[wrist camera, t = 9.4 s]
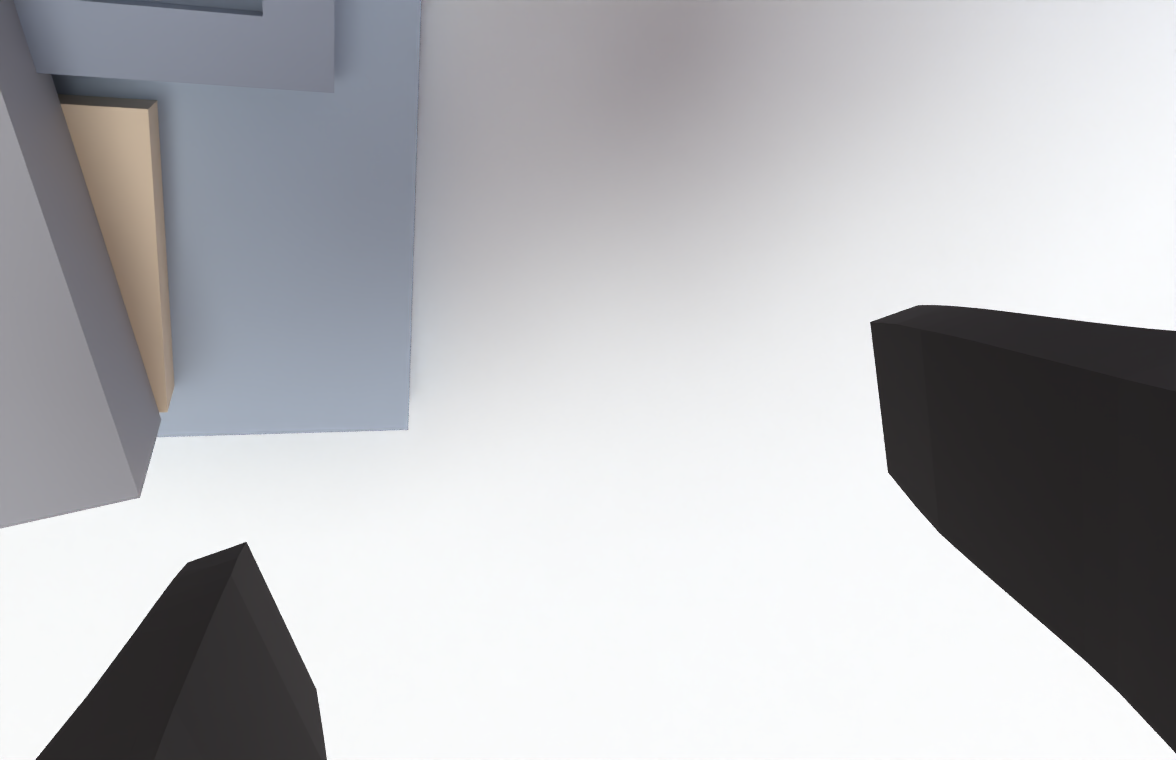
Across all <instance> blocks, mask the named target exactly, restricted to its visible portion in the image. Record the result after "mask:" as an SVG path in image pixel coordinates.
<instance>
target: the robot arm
mask: <svg viewBox="0 0 1176 760" xmlns="http://www.w3.org/2000/svg"><path fill="white" fill-rule="evenodd" d="M870 324H871V332H872V340H873V349H874V357H875V366H876V374H877V383H878V391H879V399H880V408H881V416H882V425H883V433H884V442H885V450H886V459H887V467H888V473H889V474H890V475H891V476H892V478H893V479H894V480H895V481H896V483H897V484H898V485H899V486H900V488H901V489H902V490H903V491H904V492H905V494H906V495H907V496H908V497H909V499H910V500H911V501H912V502H913V503H914V505H915V506H916V507H917V508H918V509H919V510H920V512H921V513H922V514H923V515H924V516H925V517H926V518H927V519H928V521H929V522H930V523H931V524H932V525H933V526H934V527H935V528H936V530H937V531H938V532H939V533H940V534H941V535H942V536H943V537H944V538H946V539H947V540H948V541H949V542H950V543H951V544H952V545H953V546H954V547H955V548H957V549H958V550H959V551H960V552H961V553H962V554H963V555H964V556H966V557H967V558H968V559H969V560H970V561H971V562H972V563H973V564H975V565H976V566H977V567H978V568H979V569H980V570H981V571H983V572H984V573H985V574H986V575H987V576H988V577H989V578H990V579H992V580H993V581H994V582H995V583H996V584H997V585H999V586H1000V587H1001V588H1002V589H1003V590H1004V591H1005V592H1007V593H1008V594H1009V595H1010V596H1011V597H1012V598H1014V599H1015V600H1016V601H1017V602H1018V603H1019V604H1020V605H1022V606H1023V607H1024V608H1025V609H1026V610H1027V611H1029V612H1030V613H1031V614H1032V615H1033V616H1034V617H1035V618H1037V619H1038V620H1039V621H1040V622H1041V623H1042V624H1044V625H1045V626H1046V627H1047V628H1048V629H1049V630H1051V631H1052V632H1053V633H1054V634H1055V635H1056V636H1057V637H1059V638H1060V639H1061V640H1062V641H1063V642H1064V643H1066V644H1067V645H1068V646H1069V647H1070V648H1071V649H1072V650H1074V651H1075V652H1076V653H1077V654H1078V655H1079V656H1081V657H1082V658H1083V659H1084V660H1085V661H1086V662H1087V663H1088V664H1089V665H1090V666H1092V667H1093V668H1094V669H1095V670H1096V671H1097V672H1098V673H1099V674H1100V675H1101V676H1102V677H1103V678H1104V679H1105V680H1106V681H1107V682H1108V683H1110V684H1111V685H1112V686H1113V687H1114V688H1115V689H1116V690H1117V691H1118V692H1119V693H1120V694H1121V695H1122V696H1123V697H1124V698H1125V699H1126V700H1127V702H1128V703H1129V704H1130V705H1131V706H1132V707H1133V708H1134V709H1135V710H1136V711H1137V712H1138V713H1139V714H1140V715H1141V716H1142V718H1143V719H1144V720H1145V721H1146V722H1147V723H1148V724H1149V725H1150V726H1151V727H1152V728H1153V729H1154V730H1155V731H1156V732H1157V734H1158V735H1159V736H1160V737H1161V738H1162V739H1163V740H1164V741H1165V742H1166V743H1167V744H1168V745H1169V746H1170V747H1171V748H1172V750H1173V751H1174V752H1175V753H1176V331H1169V330H1157V329H1146V328H1137V327H1128V326H1118V325H1109V324H1101V323H1092V322H1084V321H1076V320H1068V319H1060V318H1052V317H1044V316H1037V315H1029V314H1021V313H1013V312H1005V311H997V310H988V309H979V308H969V307H958V306H941V305H918V306H915V307H912V308H909V309H906V310H903V311H900V312H898V313H895V314H892V315H889V316H886V317H883V318H881V319H878V320H875V321H872V322H870ZM36 760H327V758H326V750H325V743H324V736H323V729H322V723H321V716H320V710H319V703H318V697H317V691H316V688H315V686H314V684H313V682H312V679H311V677H310V675H309V673H308V671H307V669H306V667H305V665H304V663H303V660H302V658H301V656H300V654H299V652H298V650H297V648H296V646H295V644H294V641H293V639H292V637H291V635H290V633H289V631H288V629H287V627H286V625H285V622H284V620H283V618H282V616H281V614H280V612H279V610H278V608H277V605H276V603H275V601H274V599H273V597H272V595H271V593H270V591H269V589H268V586H267V584H266V582H265V580H264V578H263V576H262V574H261V572H260V570H259V567H258V565H257V563H256V561H255V559H254V557H253V555H252V553H251V551H250V548H249V546H248V544H247V542H245V543H242V544H239V545H237V546H234V547H231V548H228V549H225V550H222V551H220V552H217V553H214V554H211V555H208V556H205V557H202V558H200V559H197V560H194V561H191V562H188V563H187V564H186V565H185V566H184V567H183V569H182V570H181V571H180V572H179V573H178V574H177V576H176V577H175V578H174V579H173V581H172V582H171V583H170V585H169V586H168V587H167V588H166V590H165V591H164V592H163V594H162V595H161V597H160V598H159V599H158V601H157V602H156V603H155V605H154V606H153V607H152V609H151V610H150V612H149V613H148V614H147V616H146V617H145V619H144V620H143V621H142V623H141V624H140V625H139V627H138V628H137V630H136V631H135V632H134V634H133V635H132V636H131V638H130V639H129V641H128V642H127V643H126V645H125V646H124V647H123V649H122V650H121V651H120V653H119V654H118V655H117V657H116V658H115V659H114V661H113V662H112V663H111V665H110V666H109V668H108V669H107V670H106V672H105V673H104V674H103V676H102V677H101V678H100V680H99V681H98V682H97V684H96V685H95V686H94V688H93V689H92V690H91V692H90V693H89V694H88V696H87V697H86V698H85V699H84V701H83V702H82V703H81V704H80V706H79V707H78V708H77V709H76V710H75V712H74V713H73V714H72V715H71V717H70V718H69V719H68V720H67V722H66V723H65V724H64V725H63V726H62V728H61V729H60V730H59V731H58V733H57V734H56V735H55V736H54V738H53V739H52V740H51V741H50V742H49V744H48V745H47V746H46V747H45V749H44V750H43V751H42V752H41V754H40V755H39V756H38V757H37V758H36Z"/></svg>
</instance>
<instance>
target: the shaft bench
mask: <svg viewBox="0 0 1176 760" xmlns="http://www.w3.org/2000/svg"><path fill="white" fill-rule="evenodd" d="M420 25H421V0H0V528H5V527H9V526H14V525H18V524H23V523H27V522H32V521H36V520H41V519H45V518H50V517H54V516H59V515H63V514H68V513H72V512H77V511H81V510H86V509H90V508H95V507H99V506H104V505H108V504H113V503H117V502H122V501H126V500H131V499H135V498H140V495H141V491H142V488H143V484H144V481H145V477H146V473H147V470H148V466H149V463H150V459H151V455H152V452H153V448H154V445H155V441H156V437H176V436H211V435H245V434H280V433H314V432H349V431H383V430H408V416H409V384H410V351H411V318H412V286H413V253H414V221H415V188H416V156H417V123H418V90H419V58H420Z"/></svg>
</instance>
